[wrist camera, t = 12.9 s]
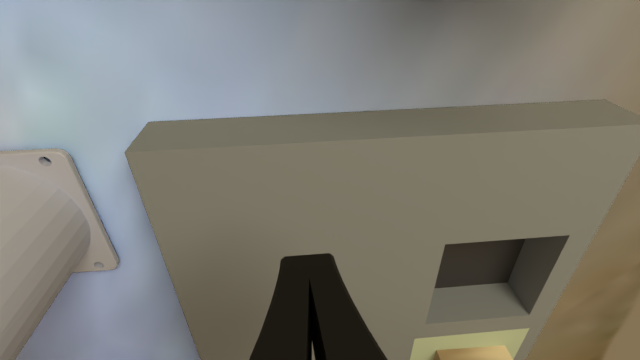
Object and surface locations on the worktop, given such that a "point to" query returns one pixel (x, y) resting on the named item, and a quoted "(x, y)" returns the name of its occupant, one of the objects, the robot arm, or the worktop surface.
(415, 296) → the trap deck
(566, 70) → the worktop surface
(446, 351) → the maple block
